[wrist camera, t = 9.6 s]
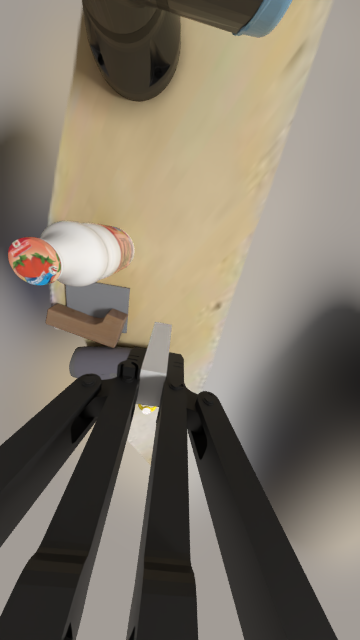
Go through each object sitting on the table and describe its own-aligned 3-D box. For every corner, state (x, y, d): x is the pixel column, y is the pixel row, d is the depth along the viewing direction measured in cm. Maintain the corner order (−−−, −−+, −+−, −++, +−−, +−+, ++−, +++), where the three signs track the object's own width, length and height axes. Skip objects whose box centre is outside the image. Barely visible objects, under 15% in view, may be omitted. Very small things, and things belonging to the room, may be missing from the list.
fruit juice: (111, 275, 48) (31, 319, 22) (87, 239, 45) (-39, 242, 19) (143, 257, 46) (95, 281, 21) (120, 218, 43) (31, 190, 17)
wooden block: (128, 314, 51) (61, 287, 49) (124, 320, 47) (50, 291, 44) (119, 340, 55) (55, 317, 52) (113, 349, 51) (44, 323, 48)
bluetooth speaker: (88, 364, 59) (71, 387, 50) (84, 337, 55) (65, 357, 46) (162, 368, 59) (158, 392, 50) (163, 342, 56) (159, 363, 46)
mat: (66, 277, 48) (65, 277, 48) (129, 288, 49) (129, 288, 49) (69, 323, 53) (68, 324, 53) (126, 332, 54) (126, 333, 54)
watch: (158, 394, 64) (157, 409, 58) (156, 400, 65) (155, 415, 60) (140, 392, 63) (137, 407, 58) (139, 398, 64) (136, 413, 59)
